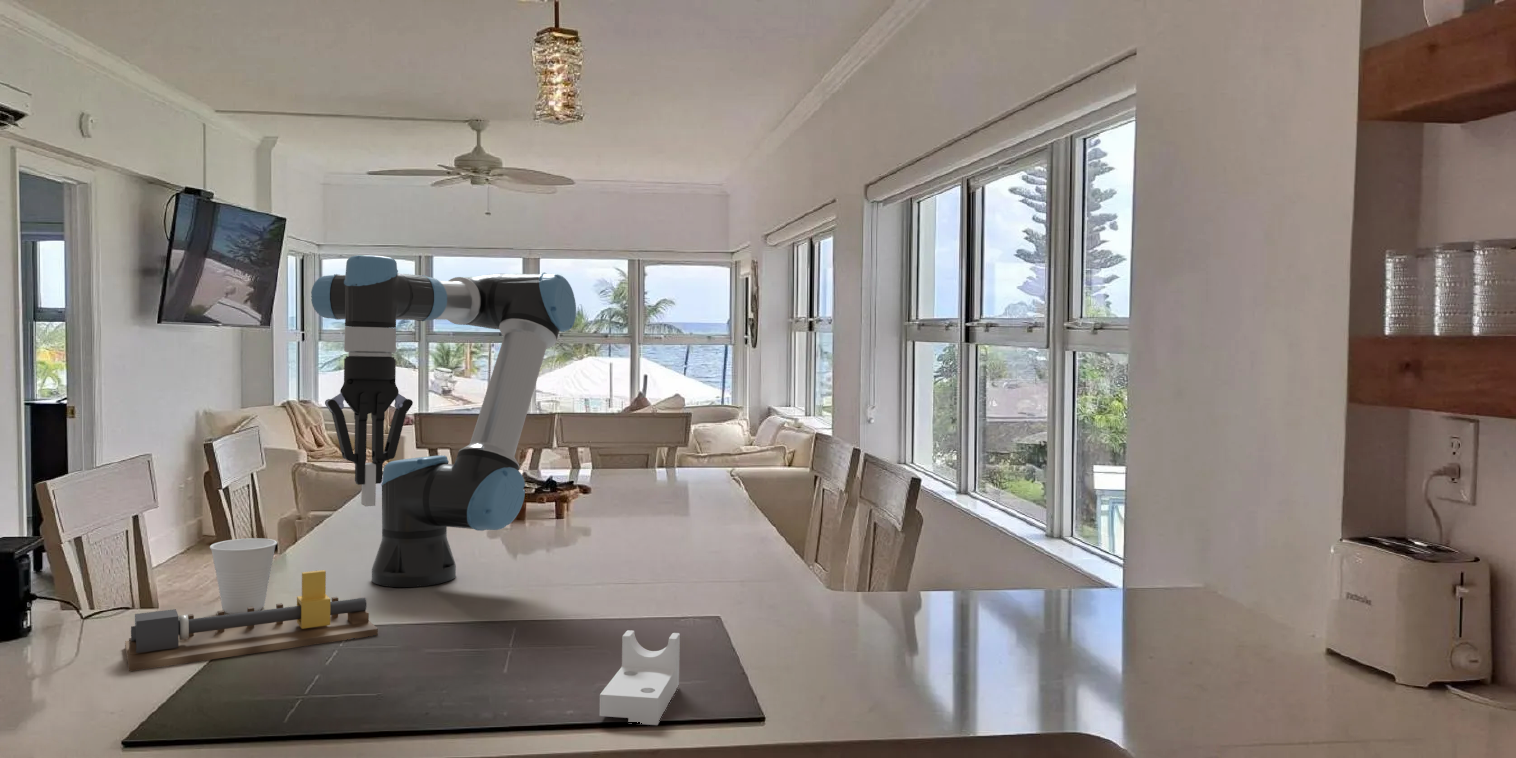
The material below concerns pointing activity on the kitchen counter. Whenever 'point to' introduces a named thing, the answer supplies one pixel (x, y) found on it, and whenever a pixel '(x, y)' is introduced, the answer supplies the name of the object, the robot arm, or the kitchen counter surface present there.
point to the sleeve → (314, 600)
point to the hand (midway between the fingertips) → (368, 504)
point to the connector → (160, 630)
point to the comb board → (251, 640)
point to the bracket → (642, 681)
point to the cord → (262, 617)
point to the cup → (243, 572)
